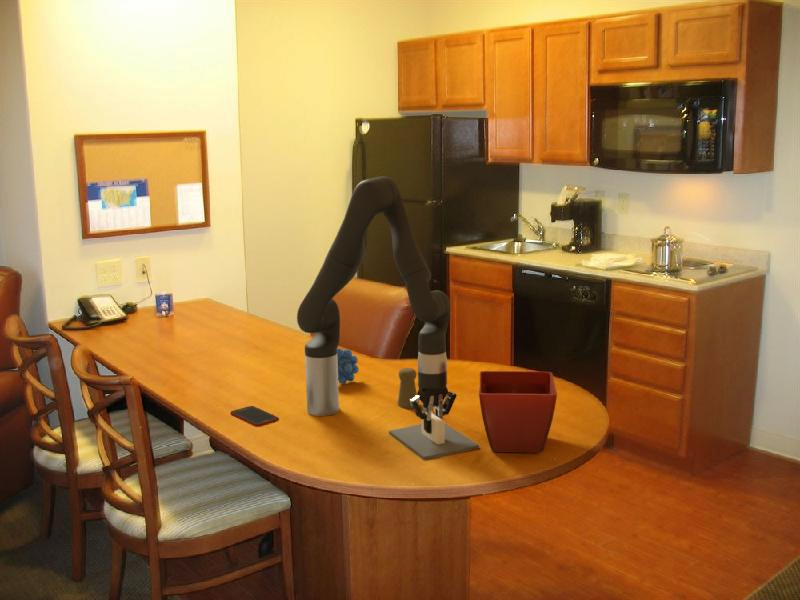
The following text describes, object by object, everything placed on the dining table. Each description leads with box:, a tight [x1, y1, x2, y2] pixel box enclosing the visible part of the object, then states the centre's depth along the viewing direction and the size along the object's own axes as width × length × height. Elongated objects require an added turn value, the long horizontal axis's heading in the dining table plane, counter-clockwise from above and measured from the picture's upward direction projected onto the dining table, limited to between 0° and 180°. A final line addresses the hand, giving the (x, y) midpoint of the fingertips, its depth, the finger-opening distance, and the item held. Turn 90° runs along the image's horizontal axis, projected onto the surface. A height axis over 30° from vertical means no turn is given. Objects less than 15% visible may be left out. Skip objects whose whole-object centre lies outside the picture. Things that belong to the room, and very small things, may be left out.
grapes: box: [337, 347, 360, 385], centre depth 270 cm, size 12×7×12 cm, turn 127°
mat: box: [388, 423, 480, 461], centre depth 225 cm, size 20×16×1 cm
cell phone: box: [230, 405, 280, 427], centre depth 245 cm, size 8×15×1 cm, turn 42°
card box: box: [420, 410, 446, 444], centre depth 224 cm, size 9×2×6 cm, turn 26°
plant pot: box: [478, 370, 558, 454], centre depth 221 cm, size 19×19×17 cm
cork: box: [397, 367, 417, 409], centre depth 252 cm, size 6×6×11 cm
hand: (433, 431), depth 225 cm, fingers closed on card box, 2 cm apart
